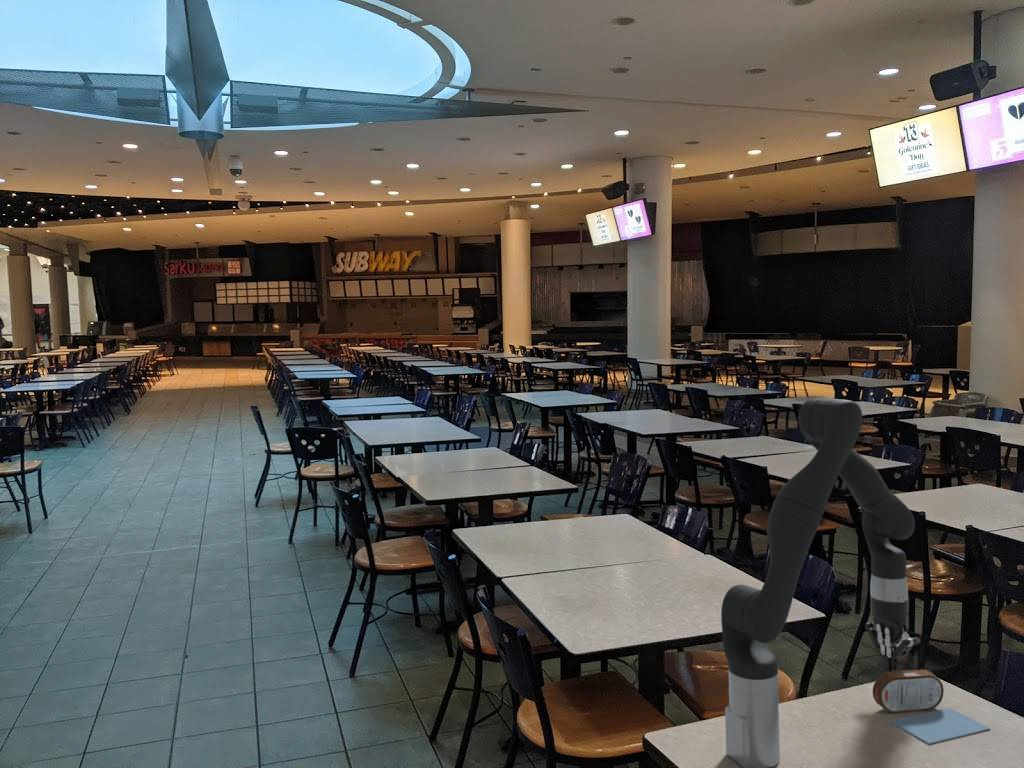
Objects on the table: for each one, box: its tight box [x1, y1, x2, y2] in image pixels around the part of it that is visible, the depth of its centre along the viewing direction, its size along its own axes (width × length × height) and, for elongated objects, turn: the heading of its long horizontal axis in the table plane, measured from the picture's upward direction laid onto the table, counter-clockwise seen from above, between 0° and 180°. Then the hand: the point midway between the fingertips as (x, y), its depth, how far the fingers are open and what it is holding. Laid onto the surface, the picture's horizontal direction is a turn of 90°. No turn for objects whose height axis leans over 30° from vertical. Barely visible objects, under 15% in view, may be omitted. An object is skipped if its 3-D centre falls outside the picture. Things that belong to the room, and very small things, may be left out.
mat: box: [889, 707, 991, 746], centre depth 164 cm, size 16×10×1 cm, turn 108°
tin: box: [872, 669, 945, 714], centre depth 172 cm, size 15×3×8 cm, turn 95°
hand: (890, 671), depth 176 cm, fingers closed
